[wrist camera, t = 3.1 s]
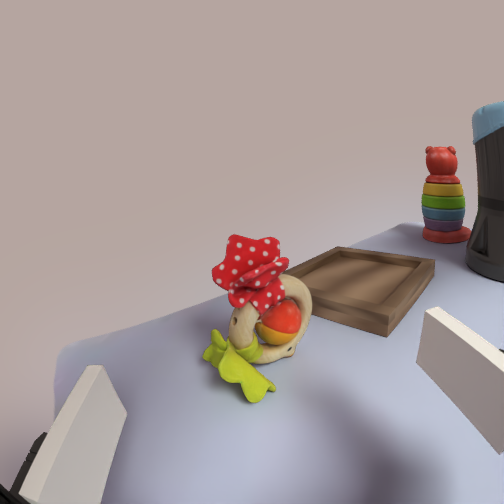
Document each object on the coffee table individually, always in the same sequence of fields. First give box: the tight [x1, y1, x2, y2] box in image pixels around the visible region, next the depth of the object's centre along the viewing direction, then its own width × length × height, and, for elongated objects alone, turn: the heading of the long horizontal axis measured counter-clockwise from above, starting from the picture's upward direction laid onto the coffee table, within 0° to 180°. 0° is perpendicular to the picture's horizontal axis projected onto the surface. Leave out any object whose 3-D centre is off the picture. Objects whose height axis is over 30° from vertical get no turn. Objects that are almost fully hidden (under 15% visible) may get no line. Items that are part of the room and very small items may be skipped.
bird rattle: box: [202, 235, 312, 403], centre depth 20 cm, size 6×11×9 cm
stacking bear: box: [422, 146, 471, 243], centre depth 44 cm, size 11×10×18 cm
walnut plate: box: [282, 247, 435, 337], centre depth 33 cm, size 16×16×2 cm
